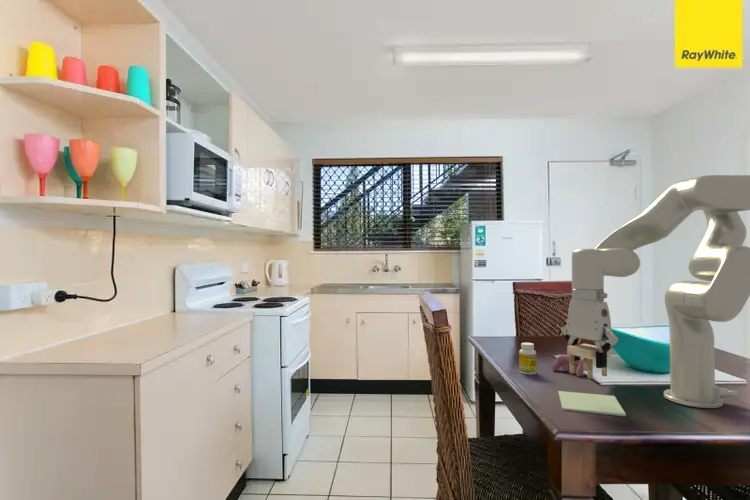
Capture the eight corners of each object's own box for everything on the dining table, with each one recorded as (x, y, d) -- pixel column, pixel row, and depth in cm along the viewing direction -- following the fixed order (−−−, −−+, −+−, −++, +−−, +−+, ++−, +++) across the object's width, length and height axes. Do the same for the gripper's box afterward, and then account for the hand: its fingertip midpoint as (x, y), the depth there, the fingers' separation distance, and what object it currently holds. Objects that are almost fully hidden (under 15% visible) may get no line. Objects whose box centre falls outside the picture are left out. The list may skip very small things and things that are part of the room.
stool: (585, 369, 115) (585, 343, 115) (609, 375, 109) (609, 348, 109) (567, 372, 112) (567, 346, 112) (590, 379, 106) (590, 351, 106)
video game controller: (585, 380, 136) (590, 359, 138) (578, 376, 134) (583, 355, 136) (556, 373, 144) (561, 354, 146) (549, 369, 142) (555, 349, 144)
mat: (614, 397, 115) (614, 396, 115) (626, 416, 102) (625, 414, 102) (558, 392, 120) (558, 390, 120) (562, 409, 106) (562, 407, 106)
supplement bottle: (524, 369, 144) (523, 341, 144) (539, 372, 140) (539, 343, 140) (516, 372, 140) (516, 343, 140) (531, 375, 136) (531, 346, 136)
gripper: (629, 298, 105) (629, 370, 104) (569, 292, 120) (569, 355, 120) (608, 299, 102) (609, 374, 101) (550, 293, 117) (550, 358, 117)
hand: (587, 363), depth 111 cm, fingers closed on stool, 7 cm apart
